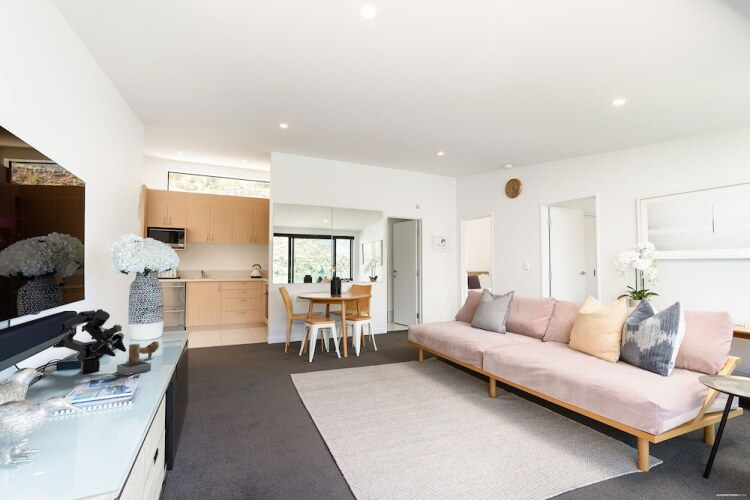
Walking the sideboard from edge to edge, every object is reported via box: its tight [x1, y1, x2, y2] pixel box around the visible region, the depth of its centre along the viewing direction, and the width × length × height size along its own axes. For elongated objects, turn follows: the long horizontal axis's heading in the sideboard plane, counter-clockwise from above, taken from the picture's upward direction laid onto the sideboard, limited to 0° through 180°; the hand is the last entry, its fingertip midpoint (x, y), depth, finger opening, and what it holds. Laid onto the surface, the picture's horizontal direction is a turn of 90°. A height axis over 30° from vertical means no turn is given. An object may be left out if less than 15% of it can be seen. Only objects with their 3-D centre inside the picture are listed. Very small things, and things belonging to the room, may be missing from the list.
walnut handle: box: [128, 343, 141, 368], centre depth 178 cm, size 5×5×12 cm
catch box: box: [116, 359, 152, 375], centre depth 178 cm, size 11×11×4 cm
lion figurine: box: [127, 340, 160, 361], centre depth 201 cm, size 15×5×9 cm, turn 132°
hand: (120, 353), depth 178 cm, fingers open, 9 cm apart
